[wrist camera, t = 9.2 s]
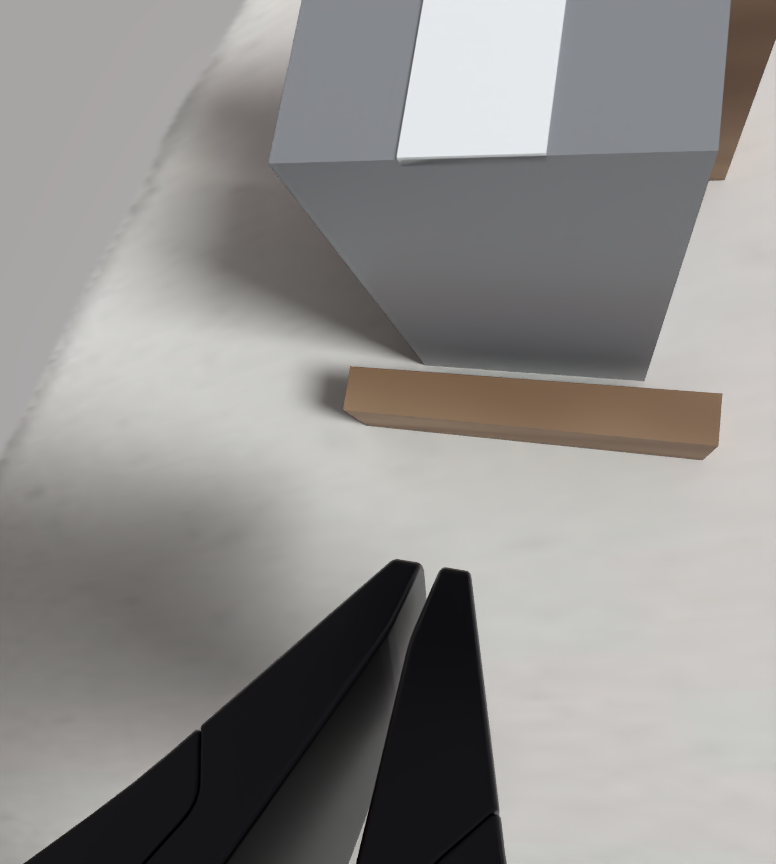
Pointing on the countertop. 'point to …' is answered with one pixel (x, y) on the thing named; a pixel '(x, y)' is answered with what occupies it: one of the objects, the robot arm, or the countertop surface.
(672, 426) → the set of wooden blocks
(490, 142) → the block
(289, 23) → the countertop surface
